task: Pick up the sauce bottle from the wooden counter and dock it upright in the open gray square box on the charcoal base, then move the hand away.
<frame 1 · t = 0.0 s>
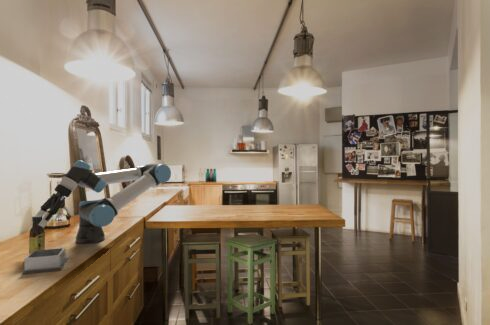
hand: (37, 224, 154), 15 cm above the worktop, tool tilted 35°, fingers open, 13 cm apart
sauce bottle: (37, 258, 150), on the worktop
open gray square box: (46, 266, 138), on the worktop
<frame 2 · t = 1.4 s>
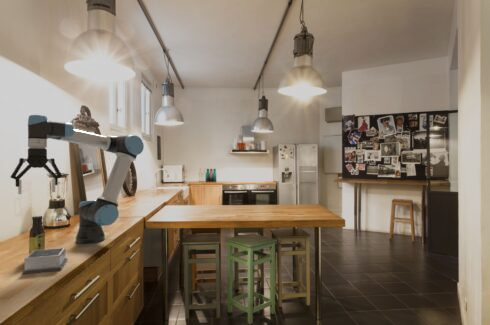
hand: (37, 193, 150), 31 cm above the worktop, tool pointing down, fingers open, 13 cm apart
nothing on the worktop moved.
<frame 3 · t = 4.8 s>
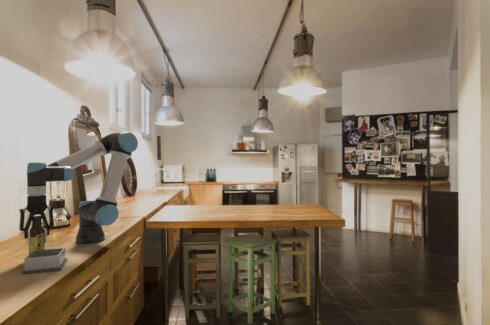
hand: (37, 243, 150), 7 cm above the worktop, tool pointing down, fingers closed on sauce bottle, 6 cm apart
sauce bottle: (37, 258, 150), on the worktop, touching gripper
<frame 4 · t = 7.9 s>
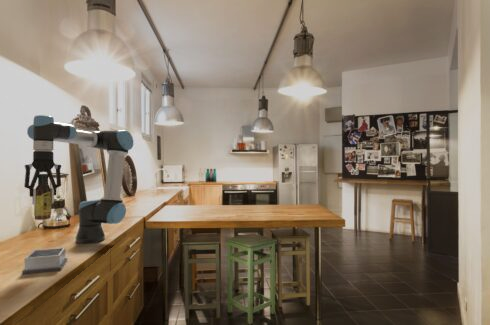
hand: (43, 203, 140), 27 cm above the worktop, tool pointing down, fingers closed on sauce bottle, 6 cm apart
sauce bottle: (42, 219, 140), point 20 cm above the worktop, touching gripper
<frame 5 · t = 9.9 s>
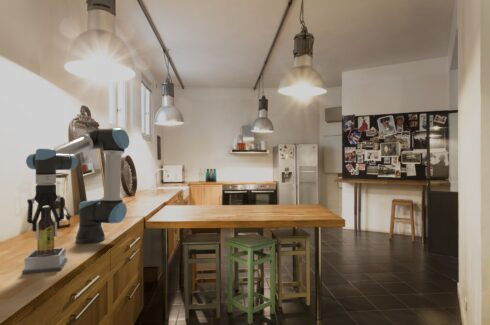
hand: (46, 237, 138), 13 cm above the worktop, tool pointing down, fingers closed on sauce bottle, 6 cm apart
sauce bottle: (46, 253, 138), point 6 cm above the worktop, touching gripper
when the fingers open (9 cm above the worktop, at t = 11.4 s): sauce bottle drops 1 cm, resting on open gray square box.
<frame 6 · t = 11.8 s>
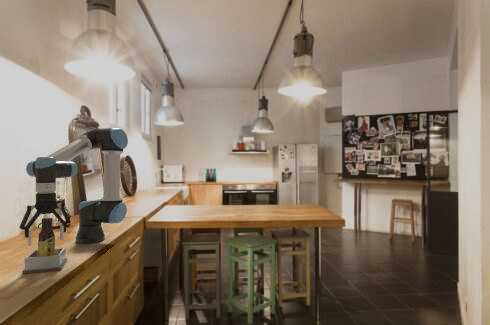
hand: (46, 242, 138), 11 cm above the worktop, tool pointing down, fingers open, 11 cm apart
sauce bottle: (46, 264, 138), point 1 cm above the worktop, touching open gray square box
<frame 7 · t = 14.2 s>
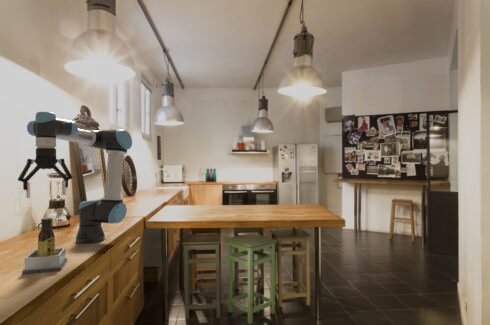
hand: (46, 196, 139), 31 cm above the worktop, tool pointing down, fingers open, 13 cm apart
nothing on the worktop moved.
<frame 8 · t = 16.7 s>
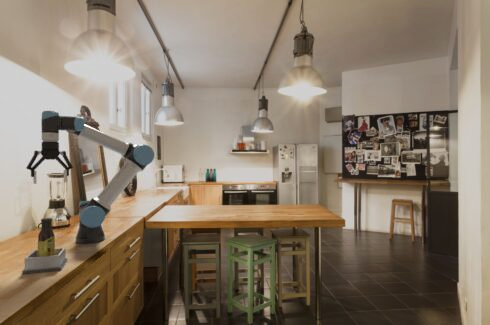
hand: (50, 183, 163), 35 cm above the worktop, tool pointing down, fingers open, 13 cm apart
nothing on the worktop moved.
at the end: sauce bottle 0.0 cm off-centre on the open gray square box, point 1.0 cm above the open gray square box's base; sauce bottle tilted 0°; the gripper is holding nothing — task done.
